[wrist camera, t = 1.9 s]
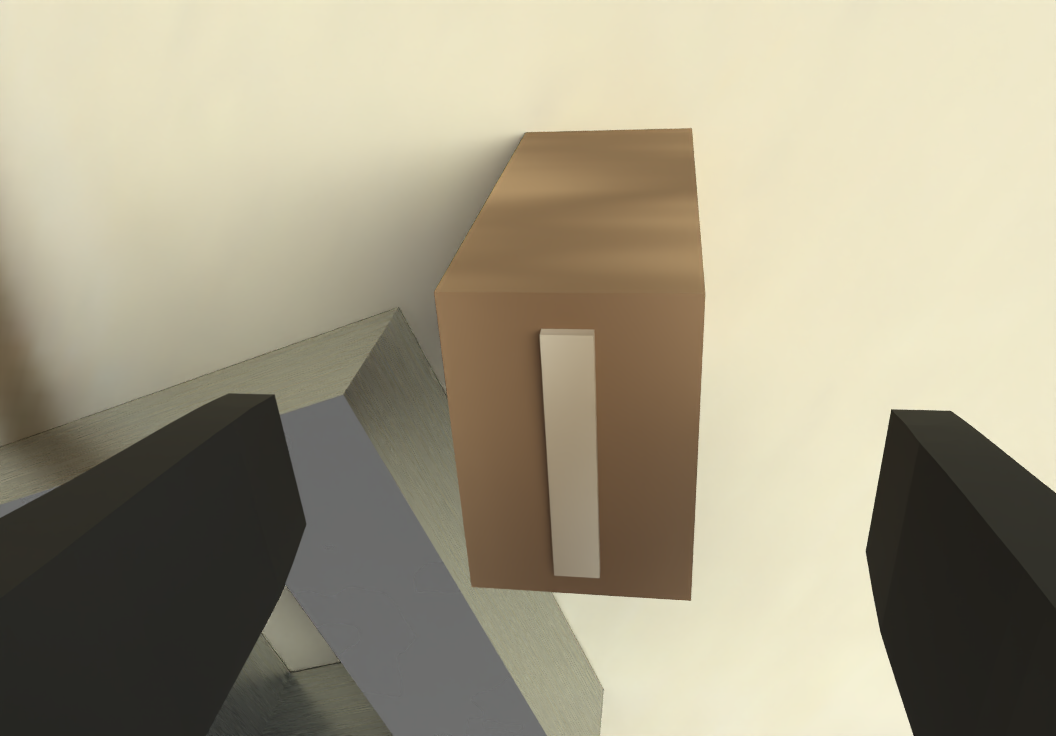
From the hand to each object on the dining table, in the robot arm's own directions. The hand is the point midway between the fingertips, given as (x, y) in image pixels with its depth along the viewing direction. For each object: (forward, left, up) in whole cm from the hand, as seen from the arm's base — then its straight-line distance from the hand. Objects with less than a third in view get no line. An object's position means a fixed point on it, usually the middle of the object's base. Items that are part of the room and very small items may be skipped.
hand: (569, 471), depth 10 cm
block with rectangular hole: (+8, +9, -7) cm, 14 cm away
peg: (0, 0, -7) cm, 7 cm away
